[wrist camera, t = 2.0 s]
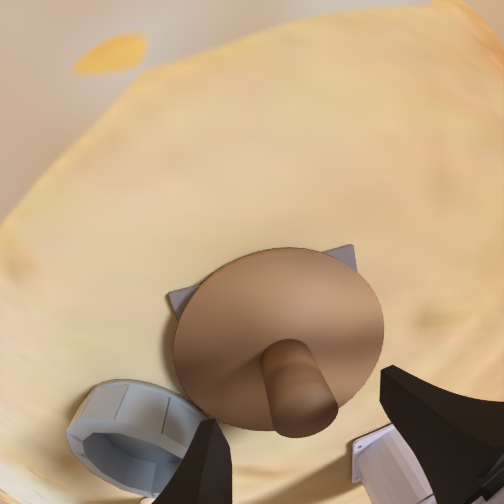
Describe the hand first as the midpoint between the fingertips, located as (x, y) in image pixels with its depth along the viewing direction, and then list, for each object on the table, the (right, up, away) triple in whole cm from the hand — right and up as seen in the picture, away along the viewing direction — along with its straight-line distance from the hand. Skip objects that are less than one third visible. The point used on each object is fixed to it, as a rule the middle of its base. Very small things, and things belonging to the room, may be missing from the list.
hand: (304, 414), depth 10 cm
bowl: (-10, -6, +6) cm, 13 cm away
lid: (0, +1, +5) cm, 5 cm away
